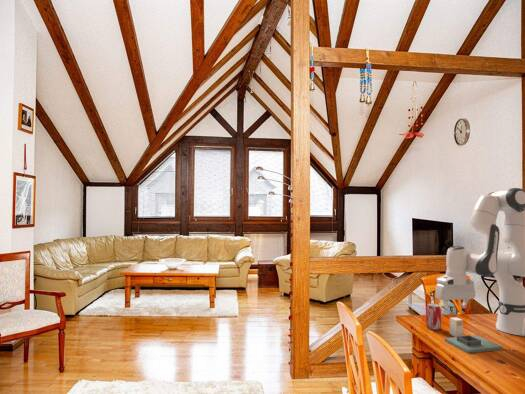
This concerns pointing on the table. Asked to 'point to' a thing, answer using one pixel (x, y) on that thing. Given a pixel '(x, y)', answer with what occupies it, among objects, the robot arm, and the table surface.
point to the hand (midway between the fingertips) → (455, 308)
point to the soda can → (433, 316)
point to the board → (472, 343)
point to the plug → (456, 326)
